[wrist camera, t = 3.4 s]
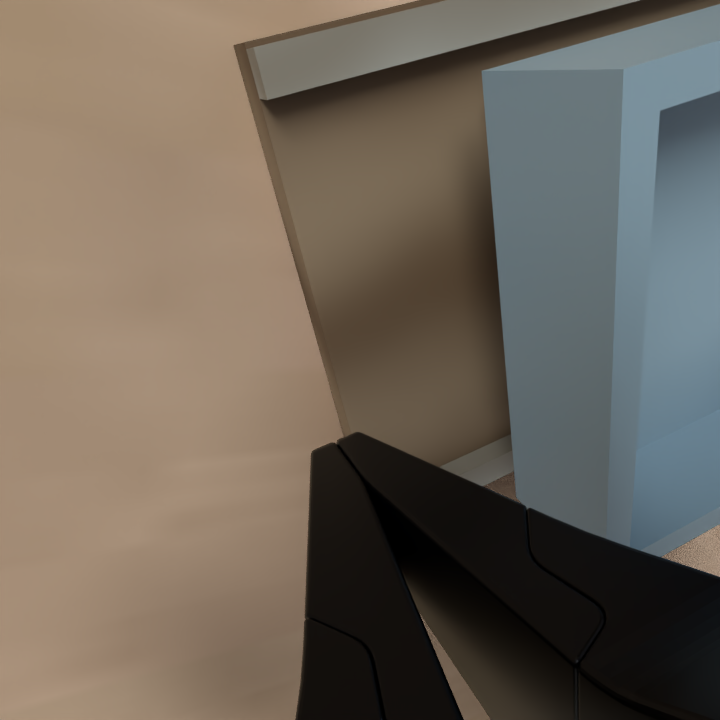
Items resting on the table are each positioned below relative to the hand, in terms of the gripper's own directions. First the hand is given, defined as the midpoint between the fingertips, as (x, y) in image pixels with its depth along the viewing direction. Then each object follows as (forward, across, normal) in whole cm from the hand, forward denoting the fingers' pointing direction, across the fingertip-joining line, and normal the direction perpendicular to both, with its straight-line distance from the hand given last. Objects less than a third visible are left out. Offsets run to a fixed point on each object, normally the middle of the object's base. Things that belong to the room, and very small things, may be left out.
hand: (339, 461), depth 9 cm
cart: (+4, -12, 0) cm, 13 cm away
